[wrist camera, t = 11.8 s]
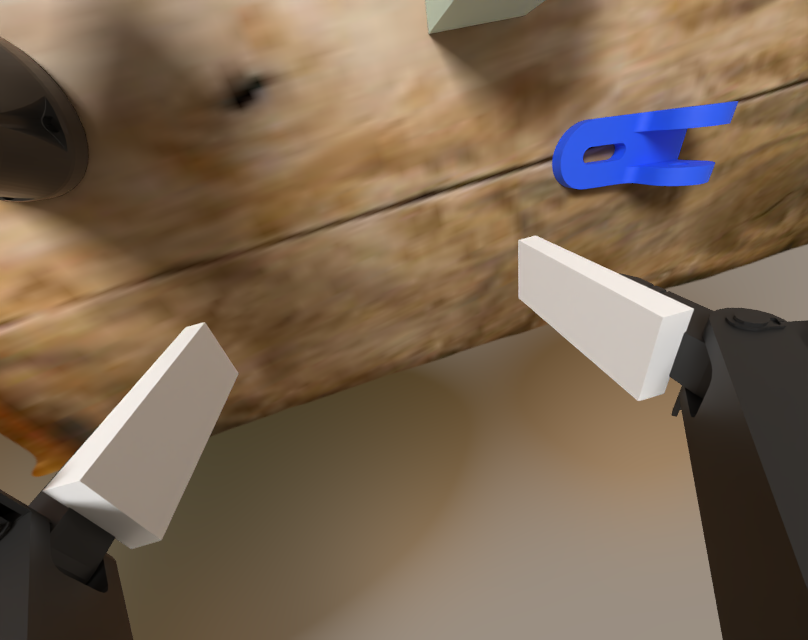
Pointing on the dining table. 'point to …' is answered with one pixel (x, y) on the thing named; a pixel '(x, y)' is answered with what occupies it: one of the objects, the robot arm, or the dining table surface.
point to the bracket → (637, 148)
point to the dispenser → (473, 12)
